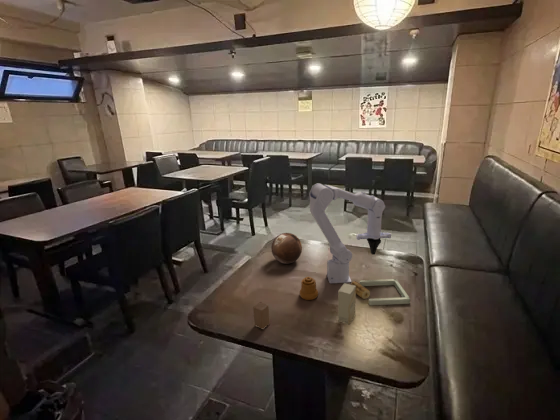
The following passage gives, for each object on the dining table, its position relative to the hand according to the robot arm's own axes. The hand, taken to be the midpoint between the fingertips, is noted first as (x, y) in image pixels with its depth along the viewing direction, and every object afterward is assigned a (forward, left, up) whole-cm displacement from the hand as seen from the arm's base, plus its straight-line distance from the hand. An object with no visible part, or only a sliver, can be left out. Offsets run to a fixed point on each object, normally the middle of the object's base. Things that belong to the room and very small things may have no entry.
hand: (372, 253), depth 134 cm
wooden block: (-48, -33, -10) cm, 59 cm away
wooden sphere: (-38, +14, -10) cm, 42 cm away
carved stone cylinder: (-10, -16, -10) cm, 21 cm away
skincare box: (-18, -31, -10) cm, 37 cm away
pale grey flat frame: (0, -17, -9) cm, 19 cm away
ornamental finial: (-30, -16, -10) cm, 35 cm away
